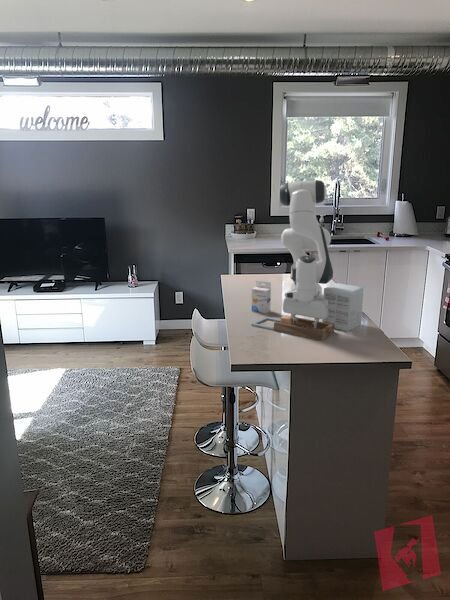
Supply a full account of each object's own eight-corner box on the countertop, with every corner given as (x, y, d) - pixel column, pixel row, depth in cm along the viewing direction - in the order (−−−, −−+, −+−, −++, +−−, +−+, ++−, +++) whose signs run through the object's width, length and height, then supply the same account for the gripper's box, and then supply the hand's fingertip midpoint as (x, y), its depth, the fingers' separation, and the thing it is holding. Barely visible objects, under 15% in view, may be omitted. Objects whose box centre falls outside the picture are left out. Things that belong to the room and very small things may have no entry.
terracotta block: (285, 325, 218) (286, 314, 217) (295, 327, 215) (296, 316, 214) (280, 328, 214) (280, 317, 213) (290, 330, 211) (290, 319, 210)
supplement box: (335, 318, 227) (337, 282, 223) (361, 324, 219) (364, 286, 215) (321, 325, 218) (323, 288, 213) (348, 331, 209) (351, 292, 205)
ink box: (251, 311, 241) (251, 282, 237) (255, 308, 245) (255, 280, 241) (266, 313, 237) (267, 284, 233) (270, 310, 241) (271, 282, 237)
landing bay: (266, 318, 228) (266, 317, 228) (288, 322, 222) (288, 321, 222) (251, 325, 218) (251, 323, 218) (273, 330, 212) (273, 328, 212)
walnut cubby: (288, 322, 222) (288, 315, 221) (334, 332, 209) (334, 324, 208) (273, 330, 212) (274, 322, 211) (320, 340, 199) (321, 332, 198)
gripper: (331, 296, 202) (330, 327, 206) (288, 290, 214) (287, 319, 218) (325, 299, 197) (323, 331, 201) (281, 292, 209) (280, 323, 213)
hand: (304, 325), depth 209 cm, fingers open, 8 cm apart
